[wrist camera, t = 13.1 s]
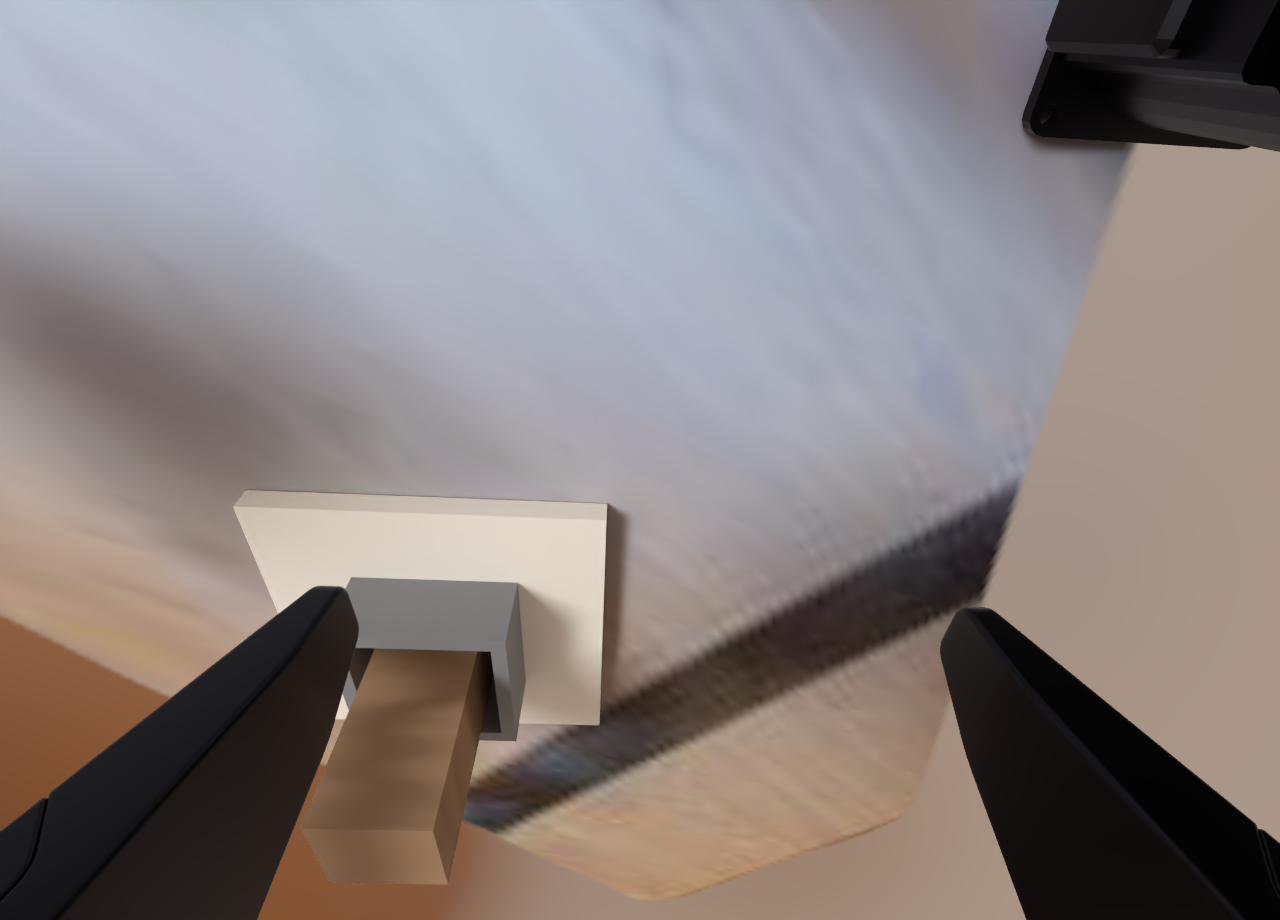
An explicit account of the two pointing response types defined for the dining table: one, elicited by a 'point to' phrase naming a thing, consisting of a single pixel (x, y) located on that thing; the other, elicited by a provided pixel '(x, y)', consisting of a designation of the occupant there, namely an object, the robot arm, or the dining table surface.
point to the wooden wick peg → (401, 769)
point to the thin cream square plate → (453, 587)
